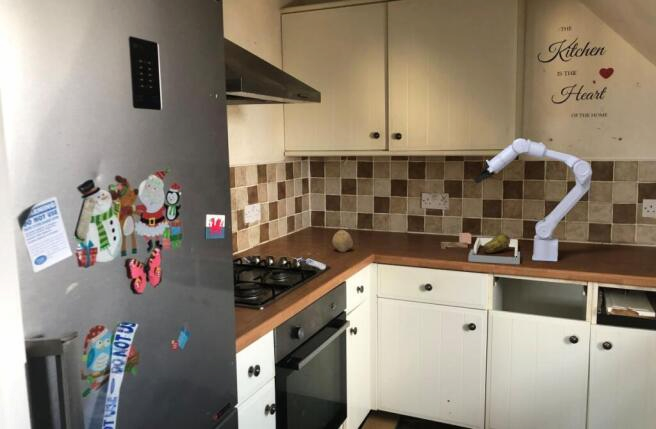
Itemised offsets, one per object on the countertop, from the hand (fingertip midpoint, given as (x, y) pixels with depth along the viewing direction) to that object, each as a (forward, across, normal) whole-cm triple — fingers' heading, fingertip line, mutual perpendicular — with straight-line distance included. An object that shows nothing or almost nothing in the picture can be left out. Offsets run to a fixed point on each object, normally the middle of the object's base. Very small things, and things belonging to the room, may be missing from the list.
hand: (476, 180), depth 235 cm
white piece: (+15, -13, +30) cm, 36 cm away
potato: (+15, -8, +30) cm, 35 cm away
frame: (+15, +6, +30) cm, 34 cm away
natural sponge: (+65, +9, -13) cm, 66 cm away
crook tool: (+29, -14, +18) cm, 37 cm away
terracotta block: (+26, -27, +20) cm, 43 cm away
